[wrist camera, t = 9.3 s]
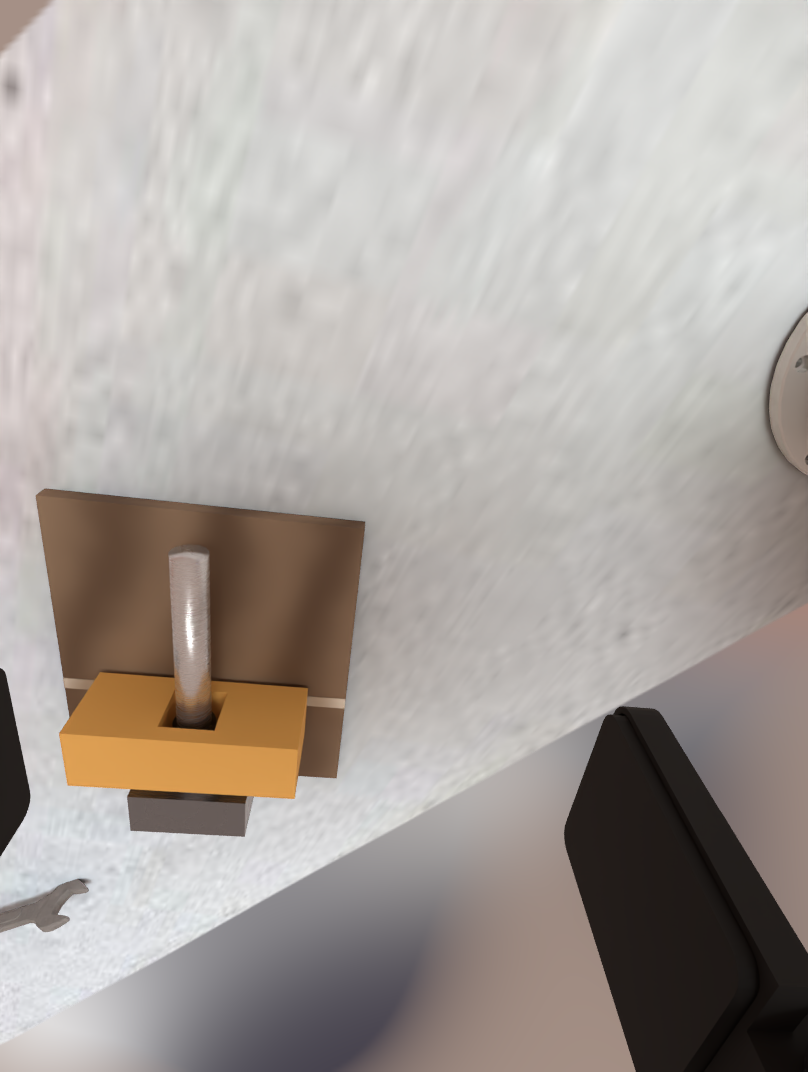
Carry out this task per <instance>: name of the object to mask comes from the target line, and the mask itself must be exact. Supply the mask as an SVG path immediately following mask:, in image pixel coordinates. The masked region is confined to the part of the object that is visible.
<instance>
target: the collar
mask: <svg viewBox="0 0 808 1072" xmlns="http://www.w3.org/2000/svg"><path fill="white" fill-rule="evenodd" d="M307 695H308V688H299V687H286V686H273V685H260V684H247V683H234V682H221V681H211V699H212V712H213V713H214V714H215V716H216V728H215V731H212V730H198V729H183V728H172V723H173V720H174V718H175V717H176V699H175V678H169V677H156V676H143V675H130V674H117V673H104V672H100V673H99V675H98V676H97V678H96V679H95V681H94V682H93V684H92V685H91V687H90V688H89V690H88V691H87V693H86V694H85V696H84V697H83V699H82V700H81V702H80V703H79V705H78V706H77V708H76V709H75V711H74V712H73V714H72V715H71V717H70V718H69V720H68V721H67V723H66V724H65V726H64V727H63V729H62V730H61V732H60V733H59V736H60V742H61V748H62V754H63V760H64V766H65V772H66V778H67V784H68V785H69V786H86V787H103V788H120V789H137V790H153V791H170V792H187V793H204V794H221V795H238V796H255V797H272V798H288V799H294V798H295V792H296V785H297V779H298V773H299V766H300V760H301V753H302V747H303V740H304V734H305V721H306V708H307Z"/></svg>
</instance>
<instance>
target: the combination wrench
mask: <svg viewBox="0 0 808 1072" xmlns="http://www.w3.org/2000/svg"><path fill="white" fill-rule="evenodd" d="M88 891H89V890H88V888H87V887H86V886H85V885H84V884H83V883H82V882H81V881H80V880H79V879H76V880H73V881H70V882H67V883H64V884H61V885H60V886H59V887H58V888H56V889H55V891H54V892H53V893H51V894H49V895H48V896H46V897H45V898H43V899H41V900H40V901H38V902H36V903H33V904H30V905H26V906H23V907H20V908H17V909H13V910H10V911H7V912H4V913H0V932H3V931H7V930H10V929H13V928H16V927H19V926H22V925H25V924H28V923H35V924H36V926H37V927H38V928H40V929H41V930H42V931H43V932H50V931H53V930H55V929H57V928H59V927H61V926H62V925H64V924H66V923H67V922H68V921H69V920H70V918H69V917H67V916H63V915H58V913H59V911H60V909H61V907H62V906H63V904H64V903H65V902H66V901H67V900H68V899H69V898H70V897H71V896H72V895H73V894H81V893H86V892H88Z"/></svg>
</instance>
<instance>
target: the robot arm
mask: <svg viewBox="0 0 808 1072" xmlns="http://www.w3.org/2000/svg"><path fill="white" fill-rule="evenodd" d="M769 415H770V422H771V430H772V432H773V435H774V437H775V440H776V443H777V445H778V447H779V449H780V450H781V452H782V453H783V454H784V456H785V457H786V459H787V460H788V461H789V462H790V463H791V464H792V465H793V466H795V467H796V468H797V469H798V470H799V471H801V472H802V473H804V474H806V475H808V312H807V313H806V314H805V316H804V317H803V318H802V319H801V321H800V322H799V324H798V325H797V327H796V328H795V330H794V332H793V333H792V335H791V336H790V338H789V339H788V341H787V343H786V345H785V347H784V349H783V352H782V354H781V356H780V358H779V361H778V363H777V365H776V369H775V373H774V377H773V380H772V384H771V388H770V401H769ZM29 803H30V789H29V784H28V779H27V775H26V770H25V765H24V760H23V755H22V750H21V746H20V741H19V736H18V731H17V726H16V721H15V716H14V712H13V707H12V702H11V697H10V692H9V687H8V683H7V678H6V674H5V672H4V670H3V669H1V668H0V856H1V855H2V853H3V851H4V850H5V848H6V847H7V845H8V843H9V842H10V840H11V839H12V837H13V835H14V834H15V832H16V831H17V829H18V828H19V826H20V824H21V823H22V821H23V819H24V817H25V816H26V813H27V810H28V807H29ZM564 839H565V845H566V850H567V853H568V856H569V860H570V863H571V866H572V869H573V872H574V875H575V879H576V882H577V885H578V888H579V892H580V895H581V898H582V901H583V904H584V907H585V911H586V913H587V917H588V920H589V923H590V927H591V930H592V933H593V936H594V939H595V942H596V946H597V949H598V952H599V955H600V958H601V962H602V965H603V968H604V971H605V974H606V977H607V981H608V984H609V987H610V990H611V994H612V997H613V999H614V1003H615V1006H616V1009H617V1013H618V1016H619V1019H620V1022H621V1025H622V1029H623V1032H624V1035H625V1038H626V1041H627V1045H628V1048H629V1051H630V1054H631V1057H632V1060H633V1063H634V1067H635V1070H636V1072H808V953H807V952H806V950H805V948H804V947H803V945H802V943H801V942H800V940H799V938H798V937H797V935H796V933H795V932H794V930H793V928H792V927H791V925H790V924H789V922H788V920H787V919H786V917H785V915H784V914H783V912H782V911H781V909H780V907H779V906H778V904H777V902H776V901H775V899H774V898H773V896H772V894H771V893H770V891H769V889H768V888H767V886H766V884H765V883H764V881H763V879H762V878H761V877H760V875H759V873H758V871H757V870H756V868H755V867H754V865H753V863H752V861H751V860H750V858H749V857H748V855H747V853H746V852H745V850H744V848H743V847H742V845H741V843H740V842H739V840H738V839H737V837H736V835H735V834H734V832H733V830H732V829H731V827H730V825H729V824H728V822H727V821H726V819H725V817H724V816H723V814H722V813H721V811H720V810H719V808H718V807H717V805H716V803H715V802H714V800H713V798H712V797H711V795H710V793H709V792H708V790H707V788H706V787H705V785H704V784H703V782H702V780H701V779H700V777H699V775H698V774H697V772H696V771H695V769H694V767H693V766H692V764H691V762H690V761H689V759H688V757H687V756H686V754H685V752H684V751H683V749H682V747H681V746H680V744H679V743H678V741H677V740H676V738H675V736H674V734H673V733H672V731H671V729H670V728H669V726H668V725H667V723H666V721H665V720H664V718H663V717H662V715H661V714H660V713H659V712H658V711H657V710H655V709H650V708H637V707H624V706H623V707H619V708H617V709H616V710H615V713H614V714H613V715H607V716H606V717H605V719H604V721H603V723H602V726H601V729H600V731H599V734H598V737H597V740H596V742H595V746H594V748H593V751H592V753H591V756H590V759H589V761H588V764H587V767H586V770H585V772H584V775H583V778H582V780H581V783H580V786H579V789H578V792H577V794H576V797H575V800H574V802H573V805H572V808H571V810H570V813H569V816H568V818H567V821H566V825H565V830H564Z"/></svg>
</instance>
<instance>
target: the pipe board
mask: <svg viewBox="0 0 808 1072" xmlns="http://www.w3.org/2000/svg"><path fill="white" fill-rule="evenodd" d="M36 501H37V507H38V514H39V521H40V527H41V534H42V540H43V547H44V553H45V560H46V566H47V573H48V579H49V586H50V592H51V599H52V605H53V612H54V619H55V625H56V632H57V638H58V645H59V651H60V658H61V664H62V671H63V677H64V678H63V680H64V687H65V690H66V697H67V703H68V710H69V717H71V715H72V714H73V712H74V711H75V709H76V708H77V706H78V705H79V703H80V702H81V700H82V699H83V697H84V696H85V694H86V693H87V691H88V690H89V688H90V687H91V685H92V684H93V682H94V681H95V679H96V678H97V676H98V675H99V673H100V672H104V673H117V674H130V675H143V676H156V677H169V678H174V658H173V637H172V617H171V597H170V576H169V556H168V553H169V551H170V550H171V549H173V548H175V547H177V546H181V545H189V544H192V545H200V546H203V547H205V548H207V549H208V550H209V563H210V631H211V681H221V682H234V683H247V684H260V685H273V686H286V687H299V688H308V695H307V708H306V721H305V734H304V740H303V747H302V753H301V760H300V766H299V773H298V776H310V777H325V778H337V769H338V760H339V751H340V742H341V734H342V725H343V716H344V707H345V698H346V690H347V681H348V672H349V663H350V654H351V645H352V637H353V628H354V619H355V610H356V601H357V593H358V584H359V575H360V566H361V557H362V549H363V540H364V531H365V522H361V521H352V520H342V519H332V518H323V517H313V516H303V515H294V514H284V513H275V512H265V511H255V510H246V509H236V508H226V507H217V506H207V505H197V504H188V503H178V502H169V501H159V500H149V499H140V498H130V497H120V496H111V495H101V494H91V493H82V492H72V491H62V490H53V489H44V490H43V491H41V492H40V493H38V494H37V495H36Z"/></svg>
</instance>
